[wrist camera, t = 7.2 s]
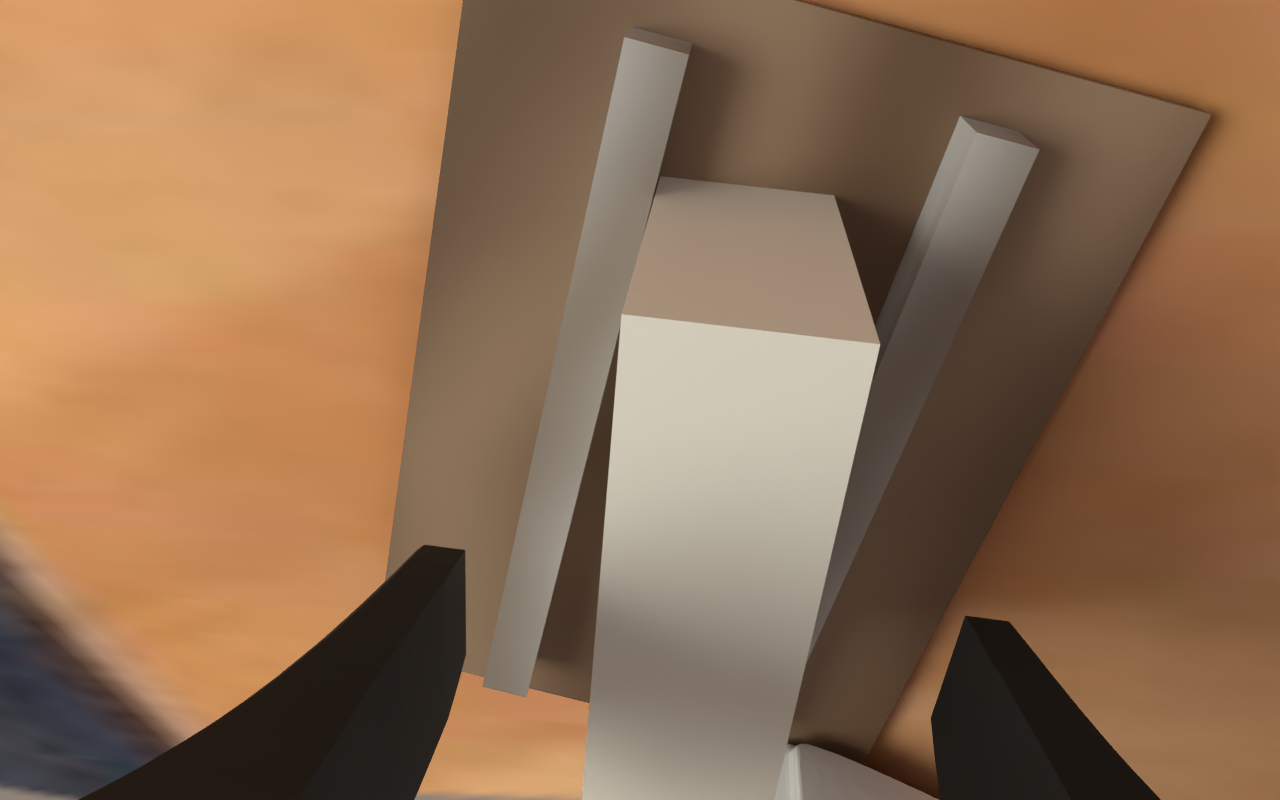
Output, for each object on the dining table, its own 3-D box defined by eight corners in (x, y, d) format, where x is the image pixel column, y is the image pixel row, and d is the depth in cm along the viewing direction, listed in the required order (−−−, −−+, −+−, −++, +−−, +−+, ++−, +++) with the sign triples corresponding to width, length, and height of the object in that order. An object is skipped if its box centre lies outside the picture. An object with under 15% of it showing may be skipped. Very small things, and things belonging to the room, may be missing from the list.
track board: (1200, 109, 15) (1247, 131, 14) (857, 756, 23) (865, 812, 21) (481, -88, 15) (454, -86, 13) (381, 638, 22) (357, 688, 21)
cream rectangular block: (833, 195, 16) (880, 344, 11) (757, 598, 20) (763, 844, 15) (659, 176, 16) (621, 314, 11) (621, 580, 20) (579, 818, 15)
